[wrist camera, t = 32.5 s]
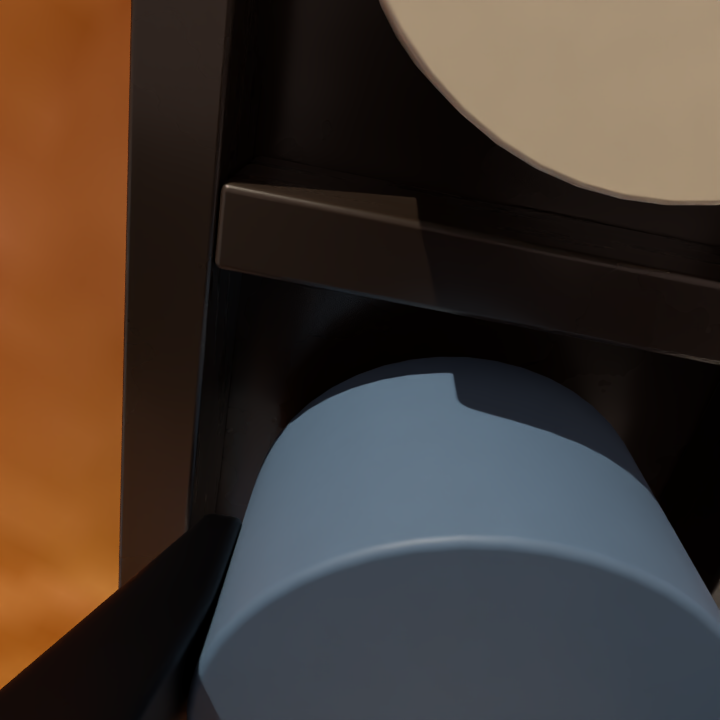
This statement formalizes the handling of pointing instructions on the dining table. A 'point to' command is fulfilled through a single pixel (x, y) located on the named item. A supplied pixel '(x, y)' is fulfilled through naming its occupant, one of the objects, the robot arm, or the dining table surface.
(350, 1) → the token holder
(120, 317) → the dining table surface
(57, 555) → the dining table surface
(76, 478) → the dining table surface
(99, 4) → the dining table surface
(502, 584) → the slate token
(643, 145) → the cylinder
